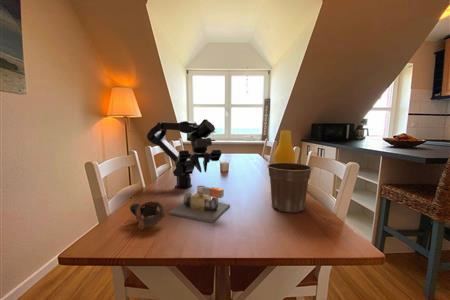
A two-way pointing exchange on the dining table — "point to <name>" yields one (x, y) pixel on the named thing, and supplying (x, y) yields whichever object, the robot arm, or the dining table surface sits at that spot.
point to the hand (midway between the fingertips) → (203, 171)
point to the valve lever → (210, 191)
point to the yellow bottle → (284, 149)
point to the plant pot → (289, 186)
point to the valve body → (200, 202)
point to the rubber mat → (200, 212)
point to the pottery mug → (147, 213)
